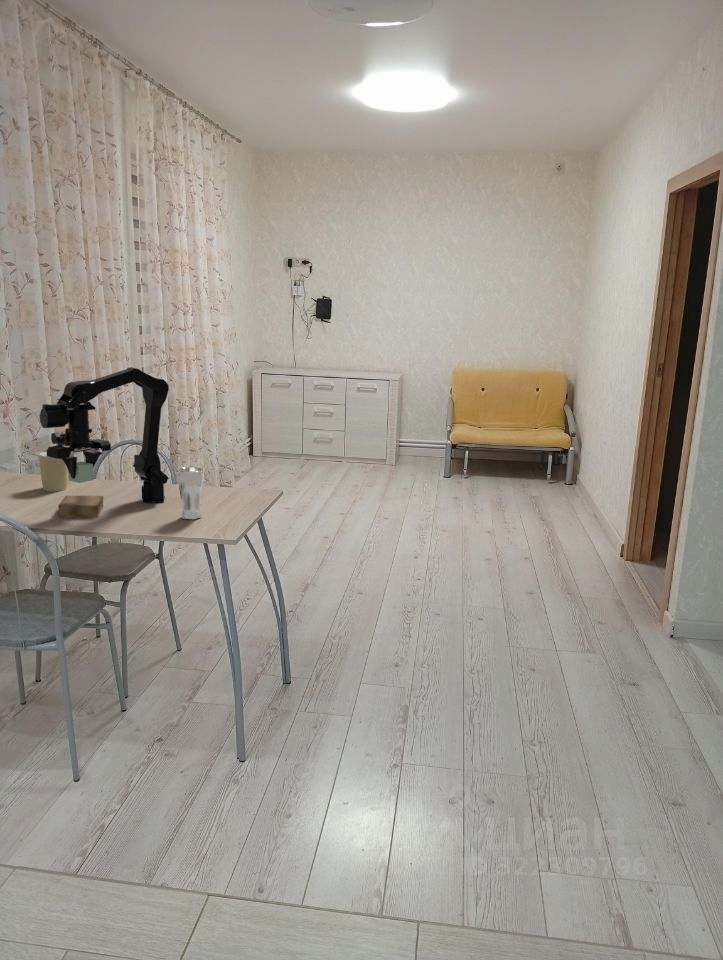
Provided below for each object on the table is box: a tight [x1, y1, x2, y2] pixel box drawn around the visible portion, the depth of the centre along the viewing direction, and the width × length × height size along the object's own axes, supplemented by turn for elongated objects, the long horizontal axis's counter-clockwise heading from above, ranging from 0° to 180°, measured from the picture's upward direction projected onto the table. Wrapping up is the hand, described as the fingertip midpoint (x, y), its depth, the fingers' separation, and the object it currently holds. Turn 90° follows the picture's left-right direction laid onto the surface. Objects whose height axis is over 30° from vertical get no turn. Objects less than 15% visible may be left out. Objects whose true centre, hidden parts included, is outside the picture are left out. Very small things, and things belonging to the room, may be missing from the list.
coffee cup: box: [37, 451, 69, 492], centre depth 251 cm, size 9×9×12 cm
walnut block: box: [57, 495, 104, 518], centre depth 228 cm, size 11×11×4 cm
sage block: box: [68, 461, 94, 484], centre depth 225 cm, size 5×5×5 cm
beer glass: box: [178, 466, 204, 520], centre depth 226 cm, size 7×7×15 cm
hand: (80, 476), depth 225 cm, fingers closed on sage block, 5 cm apart
